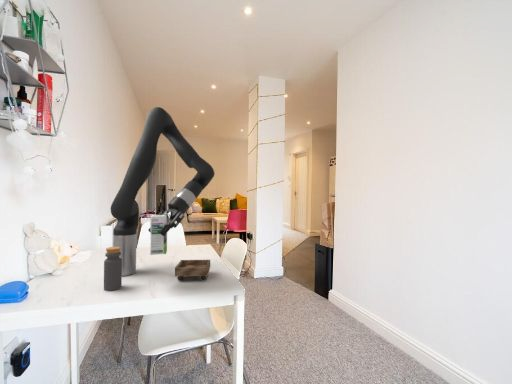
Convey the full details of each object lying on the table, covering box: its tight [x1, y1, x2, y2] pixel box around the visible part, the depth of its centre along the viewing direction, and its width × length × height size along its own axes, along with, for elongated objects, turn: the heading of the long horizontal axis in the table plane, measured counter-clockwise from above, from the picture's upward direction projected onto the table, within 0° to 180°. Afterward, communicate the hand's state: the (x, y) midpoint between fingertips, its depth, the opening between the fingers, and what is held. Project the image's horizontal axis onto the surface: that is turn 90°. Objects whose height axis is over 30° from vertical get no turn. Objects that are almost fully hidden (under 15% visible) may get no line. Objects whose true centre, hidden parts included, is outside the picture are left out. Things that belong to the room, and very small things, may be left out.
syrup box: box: [149, 214, 168, 256], centre depth 98 cm, size 6×6×14 cm
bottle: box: [103, 246, 123, 292], centre depth 97 cm, size 6×6×15 cm
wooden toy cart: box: [174, 259, 211, 282], centre depth 110 cm, size 13×13×6 cm
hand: (155, 233), depth 97 cm, fingers closed on syrup box, 8 cm apart
